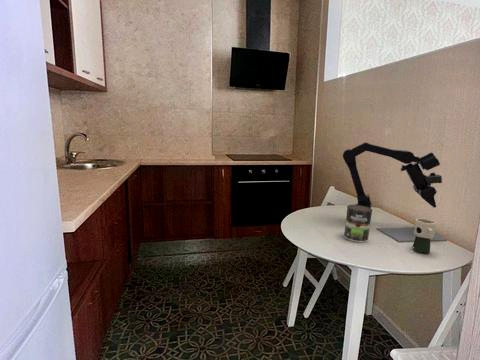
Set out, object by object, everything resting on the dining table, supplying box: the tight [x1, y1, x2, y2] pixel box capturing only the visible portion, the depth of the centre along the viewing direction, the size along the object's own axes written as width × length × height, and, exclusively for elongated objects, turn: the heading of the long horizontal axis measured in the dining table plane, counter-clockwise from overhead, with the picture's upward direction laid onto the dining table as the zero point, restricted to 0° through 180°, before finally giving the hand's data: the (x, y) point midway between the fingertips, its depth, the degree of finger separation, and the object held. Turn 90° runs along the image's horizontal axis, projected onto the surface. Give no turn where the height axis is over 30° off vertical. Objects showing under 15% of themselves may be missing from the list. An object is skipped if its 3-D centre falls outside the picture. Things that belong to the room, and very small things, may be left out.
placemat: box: [376, 226, 448, 243], centre depth 137 cm, size 24×16×1 cm, turn 99°
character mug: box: [411, 217, 437, 253], centre depth 118 cm, size 11×7×13 cm, turn 171°
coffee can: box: [343, 204, 373, 243], centre depth 129 cm, size 10×10×14 cm
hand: (432, 204), depth 135 cm, fingers open, 9 cm apart
